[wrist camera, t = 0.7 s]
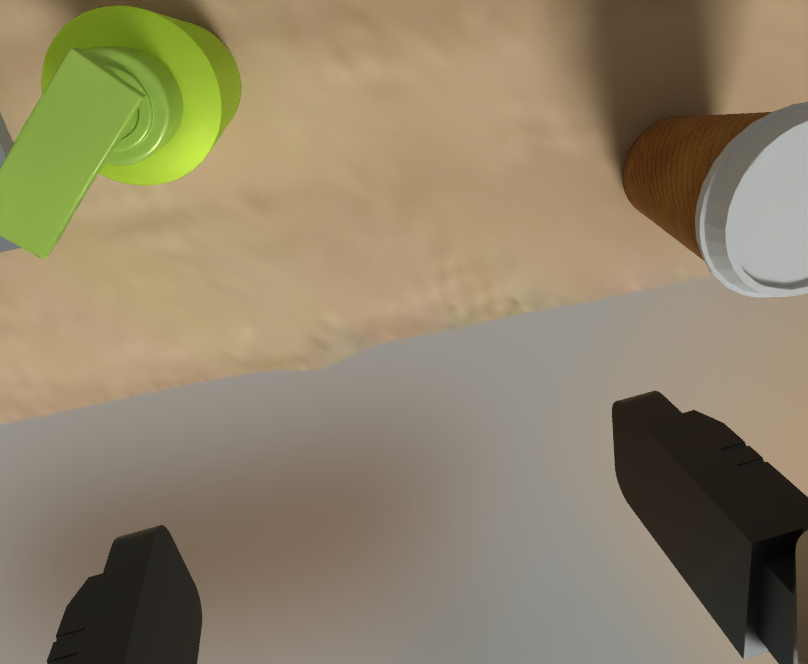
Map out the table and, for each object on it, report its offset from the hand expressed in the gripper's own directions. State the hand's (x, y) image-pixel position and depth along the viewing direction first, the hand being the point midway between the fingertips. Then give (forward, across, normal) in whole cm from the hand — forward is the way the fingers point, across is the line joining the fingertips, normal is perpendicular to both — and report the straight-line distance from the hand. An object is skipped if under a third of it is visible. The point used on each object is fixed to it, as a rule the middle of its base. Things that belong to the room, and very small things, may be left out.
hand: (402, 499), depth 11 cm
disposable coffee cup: (+29, -22, +5) cm, 37 cm away
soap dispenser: (+29, +6, -6) cm, 30 cm away
